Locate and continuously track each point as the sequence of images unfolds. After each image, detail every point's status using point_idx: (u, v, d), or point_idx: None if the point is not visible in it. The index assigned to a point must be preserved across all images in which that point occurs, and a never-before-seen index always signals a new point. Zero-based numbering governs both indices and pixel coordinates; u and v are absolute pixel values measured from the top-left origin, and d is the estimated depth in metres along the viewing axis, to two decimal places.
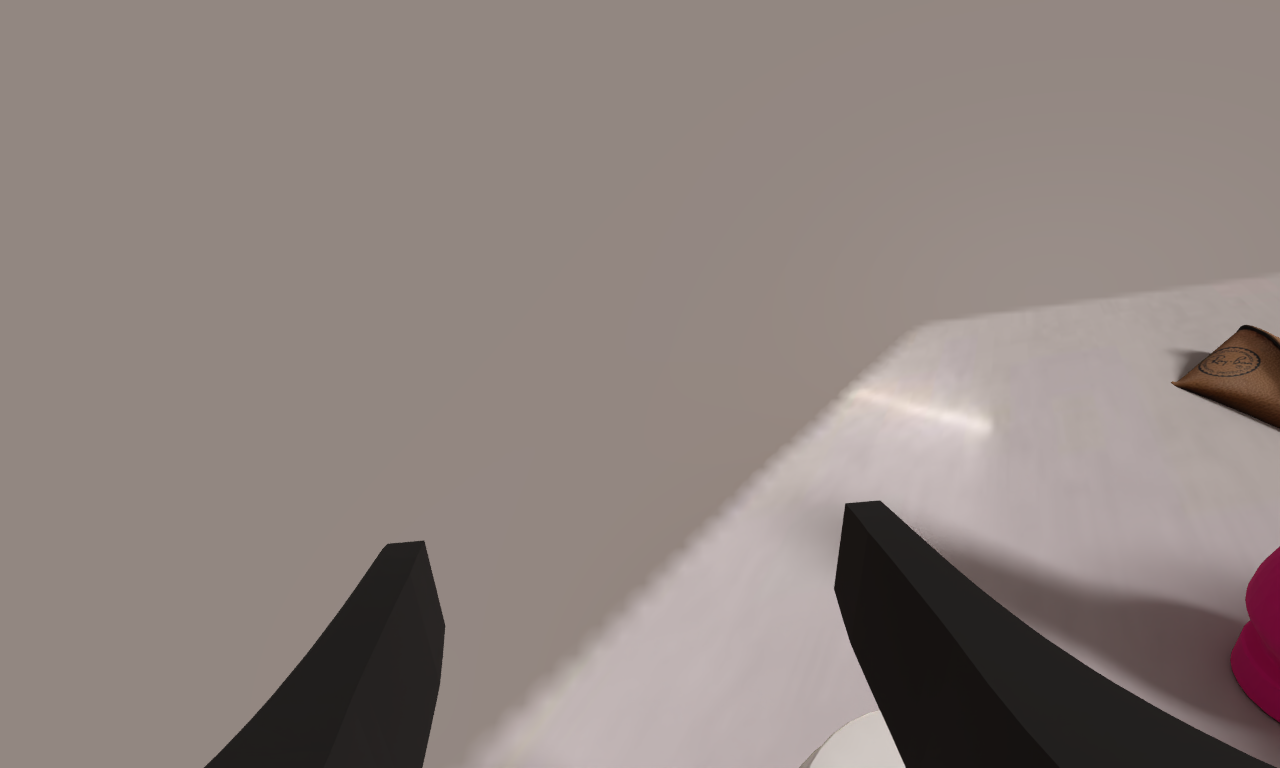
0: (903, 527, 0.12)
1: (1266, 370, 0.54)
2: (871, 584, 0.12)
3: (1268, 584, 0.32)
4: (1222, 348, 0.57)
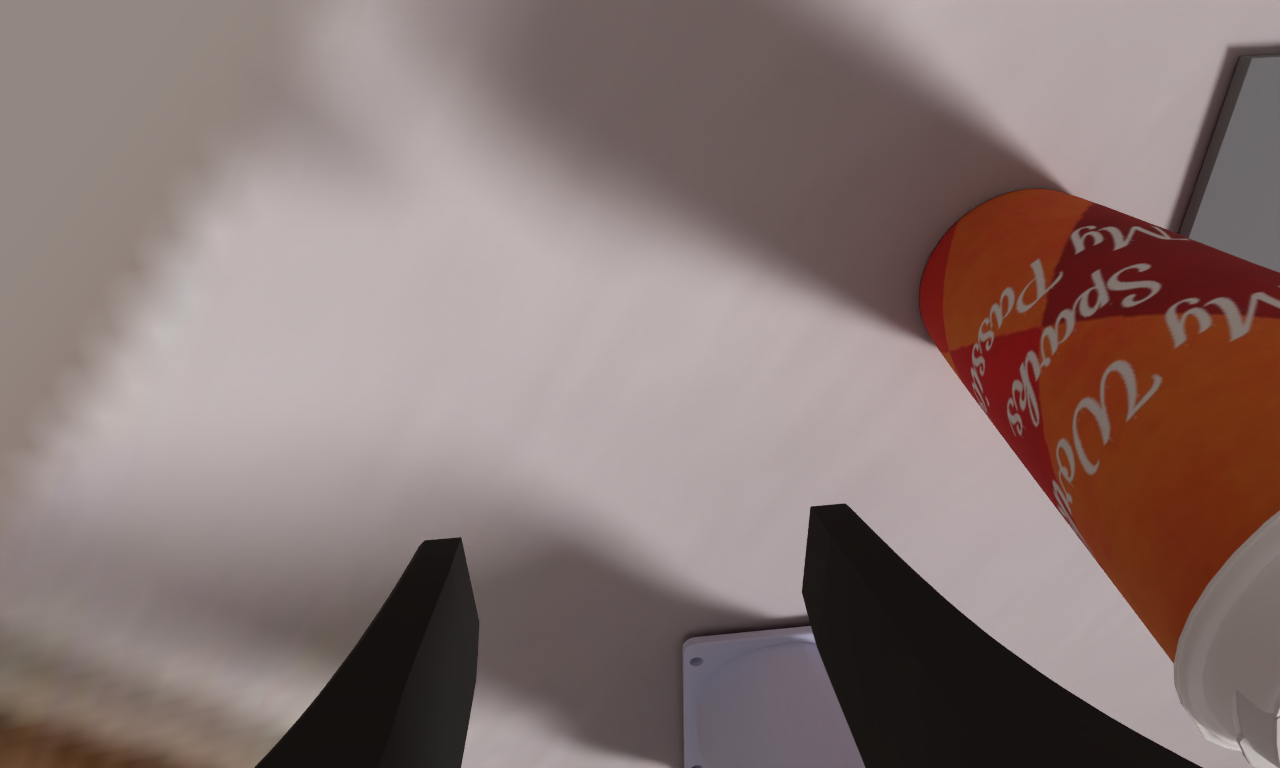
0: (866, 530, 0.12)
1: None
2: (834, 588, 0.12)
3: None
4: None
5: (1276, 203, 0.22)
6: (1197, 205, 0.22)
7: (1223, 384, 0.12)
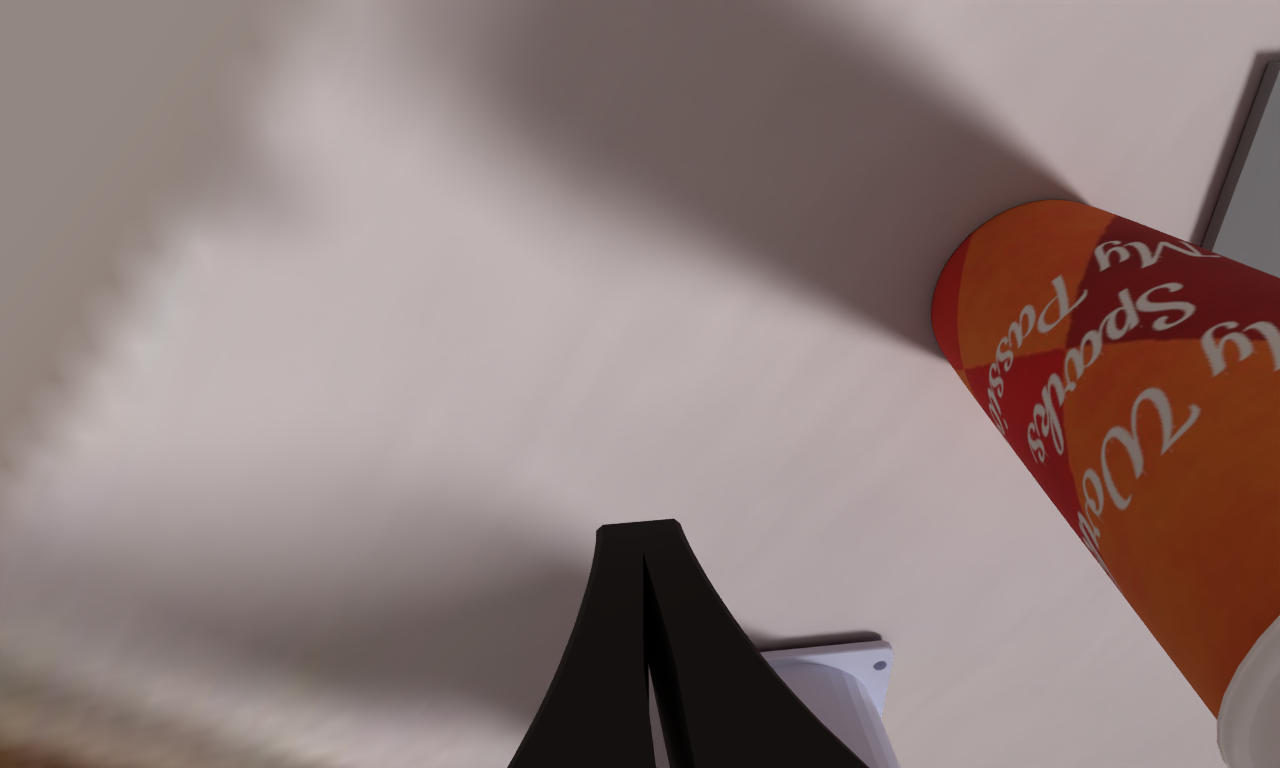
0: (679, 547, 0.11)
1: None
2: (648, 605, 0.12)
3: None
4: None
5: None
6: (1221, 216, 0.21)
7: (1268, 418, 0.12)
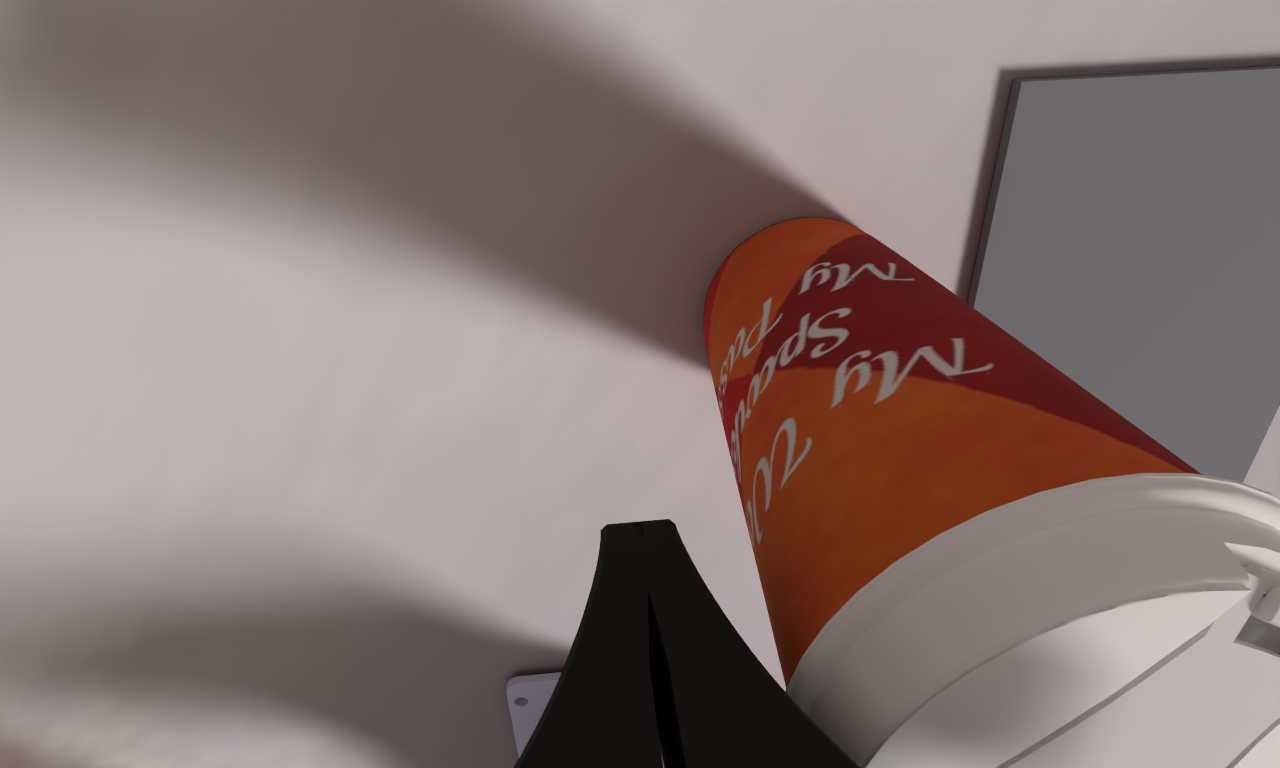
0: (674, 548, 0.11)
1: None
2: None
3: None
4: None
5: (1071, 233, 0.20)
6: (988, 234, 0.20)
7: (850, 454, 0.11)
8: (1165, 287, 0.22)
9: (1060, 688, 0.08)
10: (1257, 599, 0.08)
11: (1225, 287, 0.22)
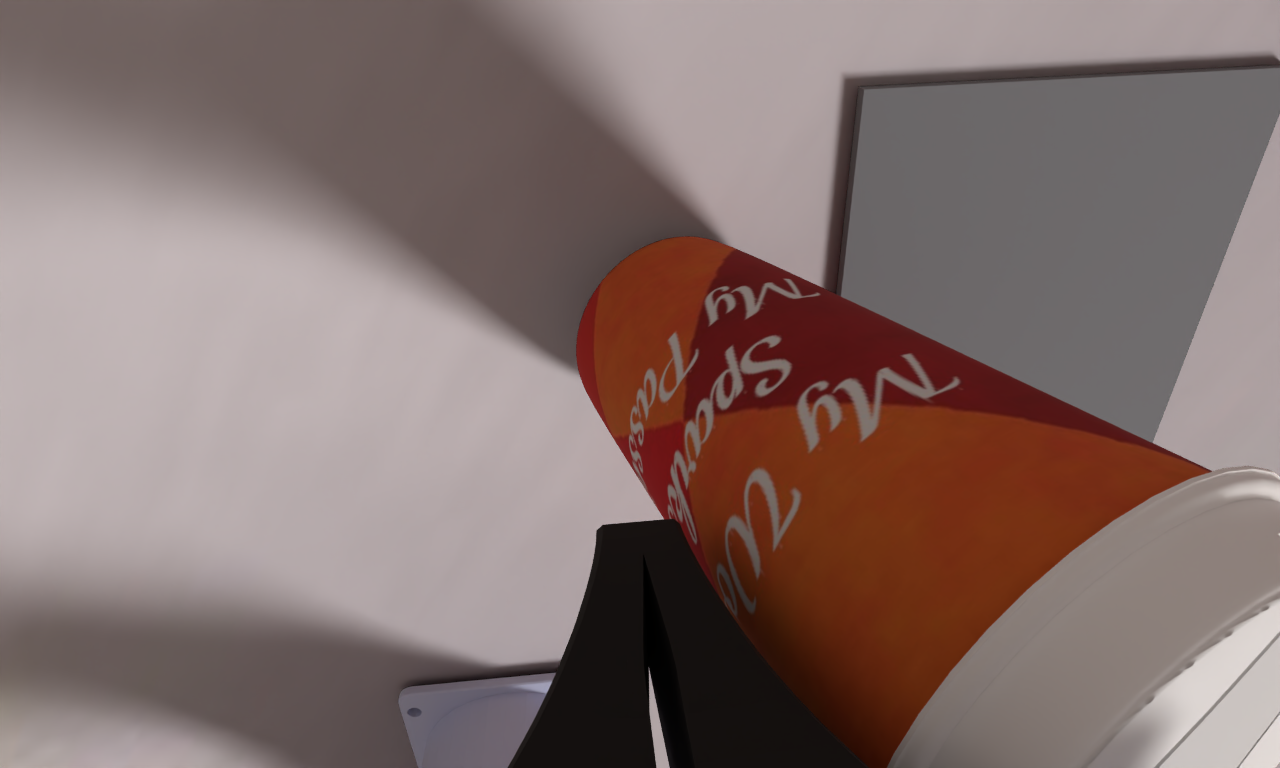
0: (680, 547, 0.11)
1: None
2: (649, 605, 0.12)
3: None
4: None
5: (931, 241, 0.20)
6: (846, 243, 0.20)
7: (858, 503, 0.10)
8: (1033, 296, 0.21)
9: (1175, 722, 0.08)
10: None
11: (1095, 296, 0.21)
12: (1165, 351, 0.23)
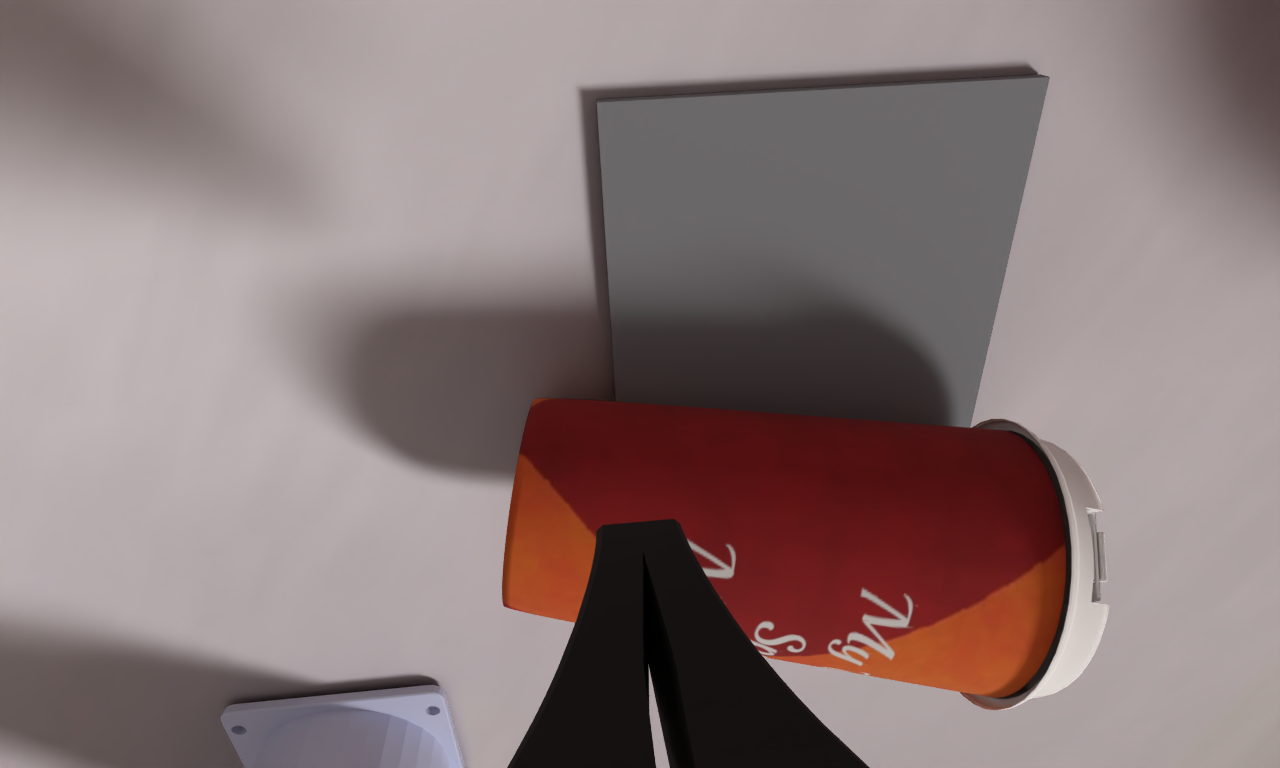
0: (680, 547, 0.11)
1: None
2: (649, 605, 0.12)
3: None
4: None
5: (695, 256, 0.20)
6: (608, 258, 0.20)
7: (910, 675, 0.18)
8: (812, 310, 0.21)
9: (1059, 641, 0.19)
10: (1097, 582, 0.18)
11: (877, 309, 0.21)
12: (960, 365, 0.22)
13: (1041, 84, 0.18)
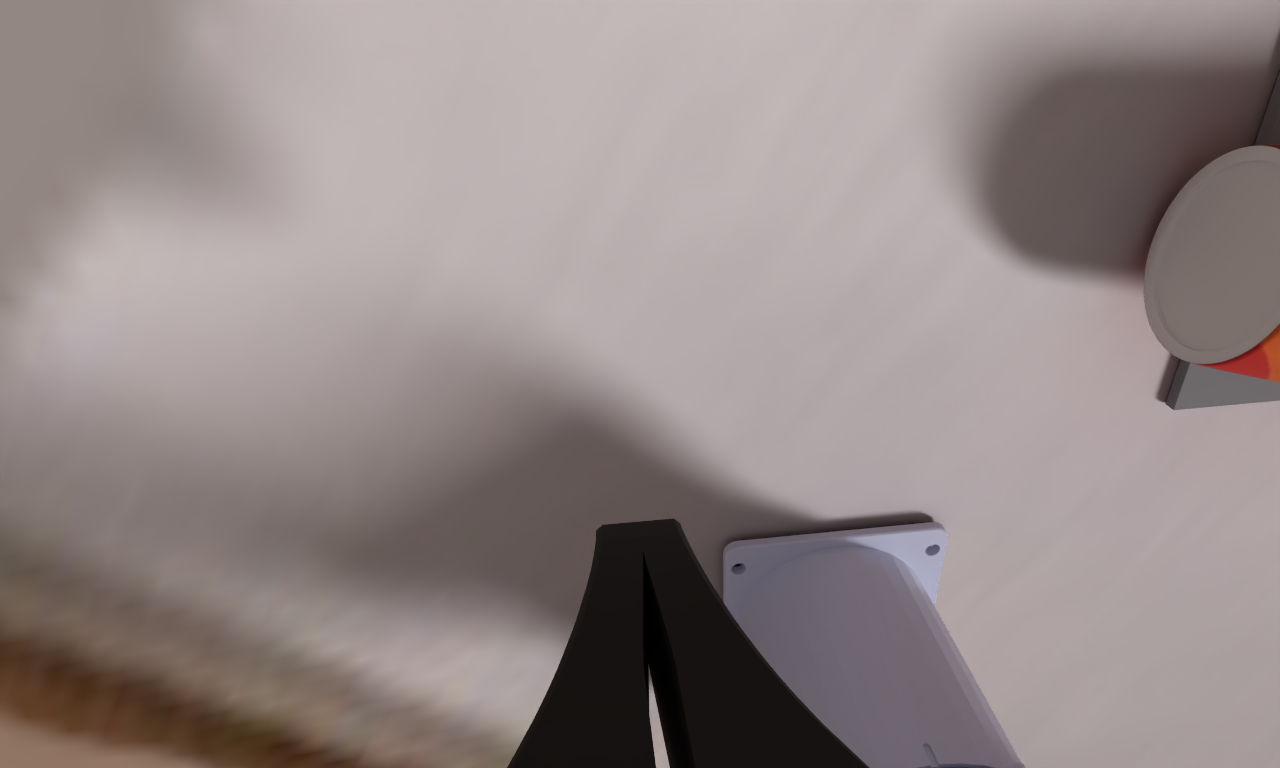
0: (680, 547, 0.11)
1: None
2: (649, 605, 0.12)
3: None
4: None
5: None
6: None
7: None
8: None
9: None
10: None
11: None
12: None
13: None
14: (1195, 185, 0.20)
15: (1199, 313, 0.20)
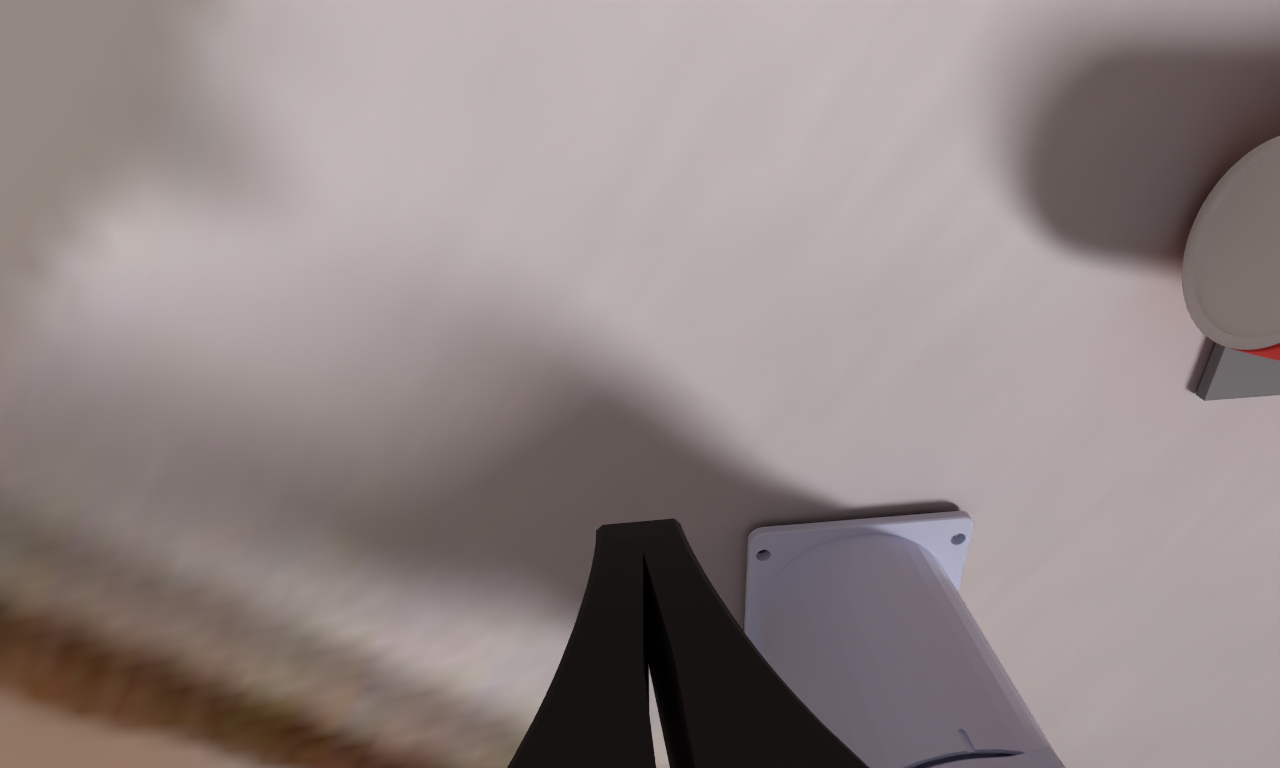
0: (680, 547, 0.11)
1: None
2: (649, 605, 0.12)
3: None
4: None
5: None
6: None
7: None
8: None
9: None
10: None
11: None
12: None
13: None
14: (1238, 171, 0.20)
15: (1242, 299, 0.20)
